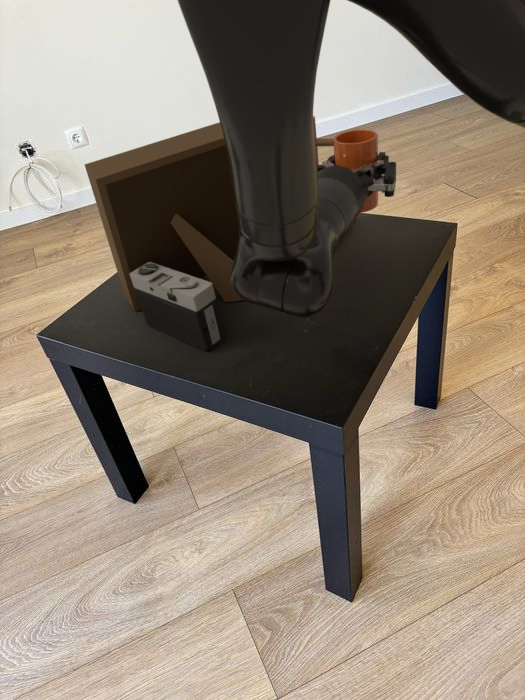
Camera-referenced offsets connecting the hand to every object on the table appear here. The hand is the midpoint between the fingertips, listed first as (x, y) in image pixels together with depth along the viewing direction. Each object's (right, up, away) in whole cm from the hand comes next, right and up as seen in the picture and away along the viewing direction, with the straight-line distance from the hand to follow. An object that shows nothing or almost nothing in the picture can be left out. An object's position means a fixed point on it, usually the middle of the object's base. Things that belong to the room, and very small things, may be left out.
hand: (360, 159), depth 78 cm
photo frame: (-24, -19, +11) cm, 33 cm away
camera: (-25, -24, +5) cm, 35 cm away
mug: (+1, -5, +4) cm, 6 cm away
